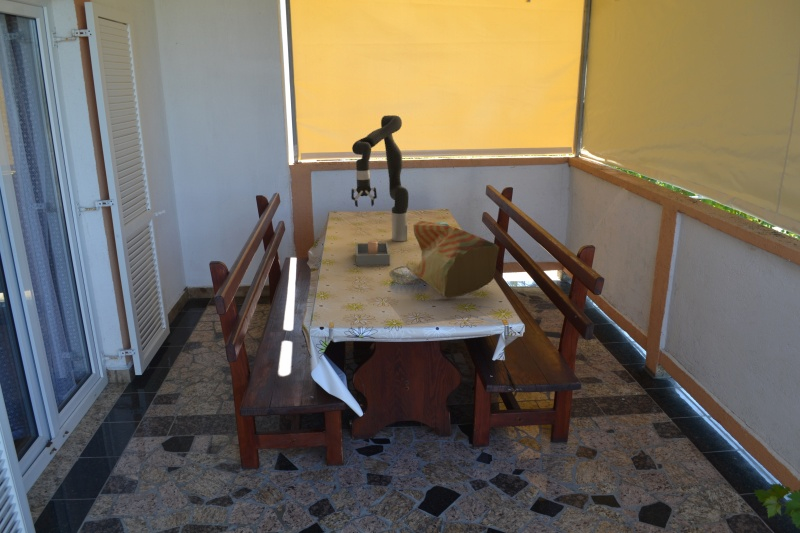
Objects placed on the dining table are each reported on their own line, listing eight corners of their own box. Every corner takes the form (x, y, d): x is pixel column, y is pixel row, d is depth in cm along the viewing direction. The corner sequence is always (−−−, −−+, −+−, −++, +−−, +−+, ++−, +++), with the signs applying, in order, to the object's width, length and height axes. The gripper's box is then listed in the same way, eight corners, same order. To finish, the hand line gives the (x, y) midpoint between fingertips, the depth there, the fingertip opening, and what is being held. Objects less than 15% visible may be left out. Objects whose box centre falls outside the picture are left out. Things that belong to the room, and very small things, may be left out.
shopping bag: (468, 234, 277) (405, 203, 302) (437, 299, 281) (378, 263, 306) (508, 249, 305) (448, 219, 329) (480, 308, 309) (423, 274, 334)
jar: (377, 256, 357) (377, 240, 355) (377, 258, 353) (377, 243, 350) (368, 256, 357) (368, 240, 354) (368, 258, 352) (368, 243, 350)
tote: (387, 252, 367) (387, 242, 365) (389, 265, 344) (389, 254, 342) (356, 253, 366) (355, 243, 364) (356, 266, 343) (356, 255, 341)
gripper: (375, 176, 361) (376, 204, 366) (350, 177, 359) (351, 205, 364) (376, 178, 354) (377, 207, 359) (350, 179, 352) (352, 208, 357)
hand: (364, 206), depth 362 cm, fingers open, 8 cm apart
